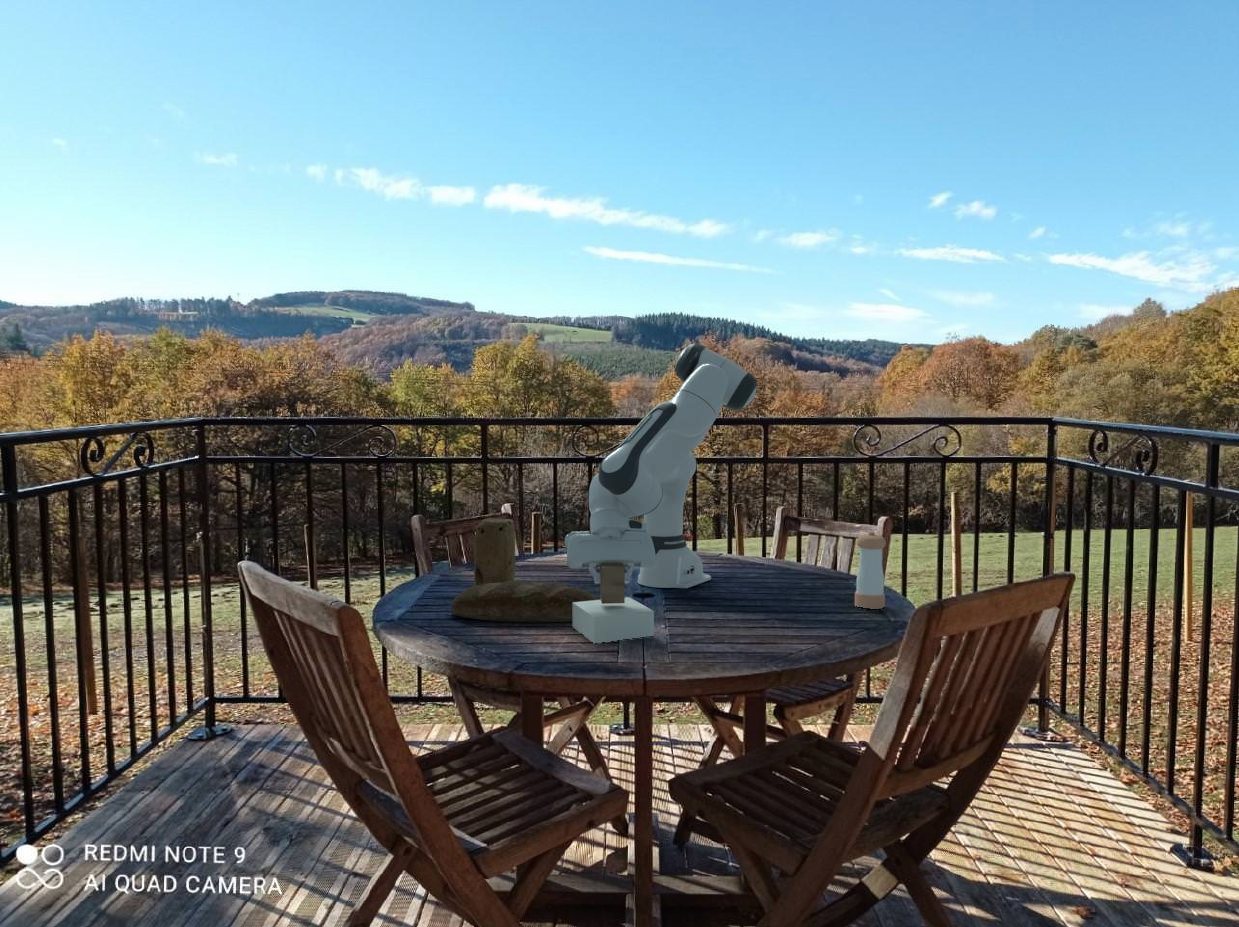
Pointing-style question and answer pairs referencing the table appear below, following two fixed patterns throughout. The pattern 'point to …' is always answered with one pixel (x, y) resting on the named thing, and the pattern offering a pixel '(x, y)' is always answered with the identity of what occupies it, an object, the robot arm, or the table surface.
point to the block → (494, 551)
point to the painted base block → (612, 620)
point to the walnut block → (612, 583)
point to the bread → (519, 602)
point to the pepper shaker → (870, 572)
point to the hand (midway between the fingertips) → (612, 582)
